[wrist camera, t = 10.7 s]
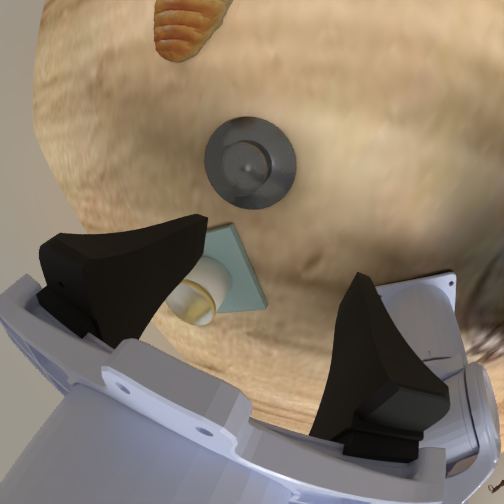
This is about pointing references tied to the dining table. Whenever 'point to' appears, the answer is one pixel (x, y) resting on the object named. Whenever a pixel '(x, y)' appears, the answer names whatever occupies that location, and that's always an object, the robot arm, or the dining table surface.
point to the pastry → (186, 26)
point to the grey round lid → (250, 163)
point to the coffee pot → (503, 483)
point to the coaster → (235, 270)
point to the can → (201, 292)
